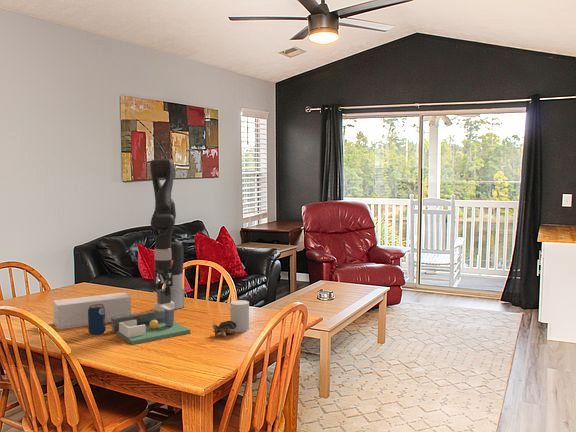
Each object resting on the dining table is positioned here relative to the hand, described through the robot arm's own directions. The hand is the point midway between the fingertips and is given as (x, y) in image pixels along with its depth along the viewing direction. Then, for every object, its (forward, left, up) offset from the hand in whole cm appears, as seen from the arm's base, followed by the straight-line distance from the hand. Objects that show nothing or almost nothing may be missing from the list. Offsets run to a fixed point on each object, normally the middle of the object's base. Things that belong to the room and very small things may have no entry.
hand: (163, 293), depth 250 cm
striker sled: (0, +5, -11) cm, 13 cm away
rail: (+10, 0, -13) cm, 17 cm away
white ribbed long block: (+25, -22, -14) cm, 36 cm away
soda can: (+30, -2, -14) cm, 33 cm away
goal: (+19, +11, -12) cm, 25 cm away
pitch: (+11, +13, -13) cm, 22 cm away
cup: (-22, +29, -14) cm, 39 cm away
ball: (+10, +11, -10) cm, 18 cm away
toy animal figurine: (-12, +33, -14) cm, 37 cm away
